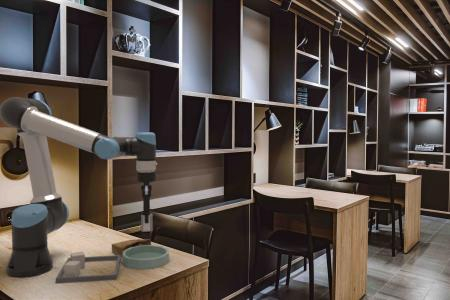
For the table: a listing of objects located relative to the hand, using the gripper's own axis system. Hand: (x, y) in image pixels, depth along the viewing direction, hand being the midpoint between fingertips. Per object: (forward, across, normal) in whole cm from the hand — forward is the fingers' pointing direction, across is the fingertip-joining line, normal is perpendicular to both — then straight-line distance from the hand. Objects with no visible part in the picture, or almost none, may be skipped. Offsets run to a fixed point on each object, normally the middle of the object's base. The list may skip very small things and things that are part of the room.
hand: (146, 229), depth 151 cm
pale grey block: (+13, -2, +26) cm, 29 cm away
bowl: (+13, 0, 0) cm, 13 cm away
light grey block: (+13, -12, +26) cm, 31 cm away
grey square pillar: (0, 0, 0) cm, 0 cm away
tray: (+13, -7, +20) cm, 25 cm away
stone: (+13, +12, +7) cm, 19 cm away
